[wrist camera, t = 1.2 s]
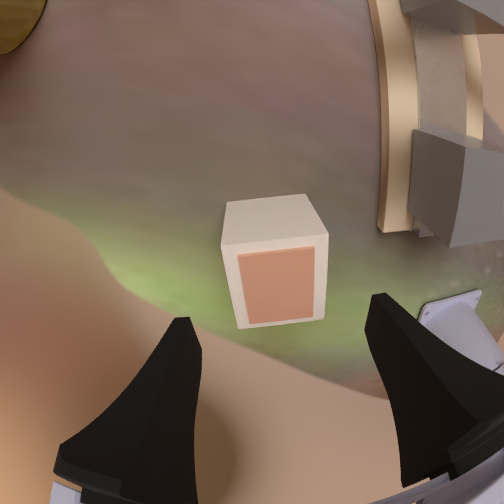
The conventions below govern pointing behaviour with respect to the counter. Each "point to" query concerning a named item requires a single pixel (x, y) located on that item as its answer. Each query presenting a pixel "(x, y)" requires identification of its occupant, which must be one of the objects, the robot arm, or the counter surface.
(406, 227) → the board
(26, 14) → the vase
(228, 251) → the block
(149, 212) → the counter surface
